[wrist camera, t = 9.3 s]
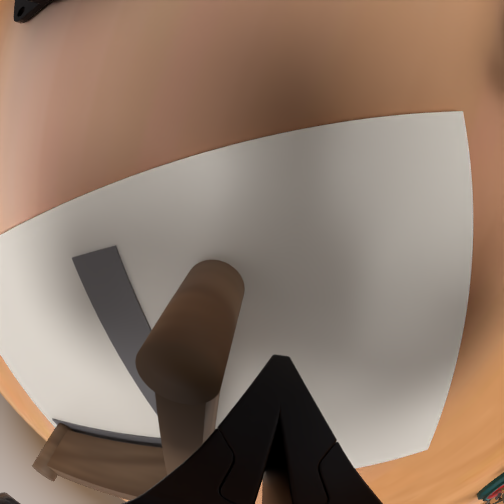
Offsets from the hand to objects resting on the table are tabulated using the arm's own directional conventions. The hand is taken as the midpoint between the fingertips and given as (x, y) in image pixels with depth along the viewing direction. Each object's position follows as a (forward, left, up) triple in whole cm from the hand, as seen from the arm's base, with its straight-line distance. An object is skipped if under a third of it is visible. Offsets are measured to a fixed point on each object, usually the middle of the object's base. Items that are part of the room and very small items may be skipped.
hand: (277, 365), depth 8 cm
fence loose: (+2, -3, -1) cm, 4 cm away
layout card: (+3, -6, -2) cm, 7 cm away
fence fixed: (+8, -11, -2) cm, 14 cm away
